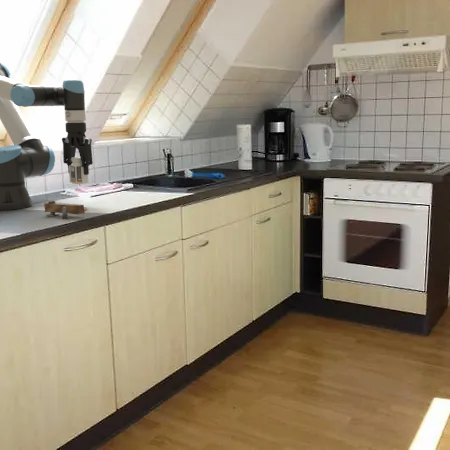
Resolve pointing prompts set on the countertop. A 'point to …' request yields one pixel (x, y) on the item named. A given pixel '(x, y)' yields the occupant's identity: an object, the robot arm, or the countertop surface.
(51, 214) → the pivot pin
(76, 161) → the pill bottle
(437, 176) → the countertop surface
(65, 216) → the stop peg
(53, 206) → the leg bar
